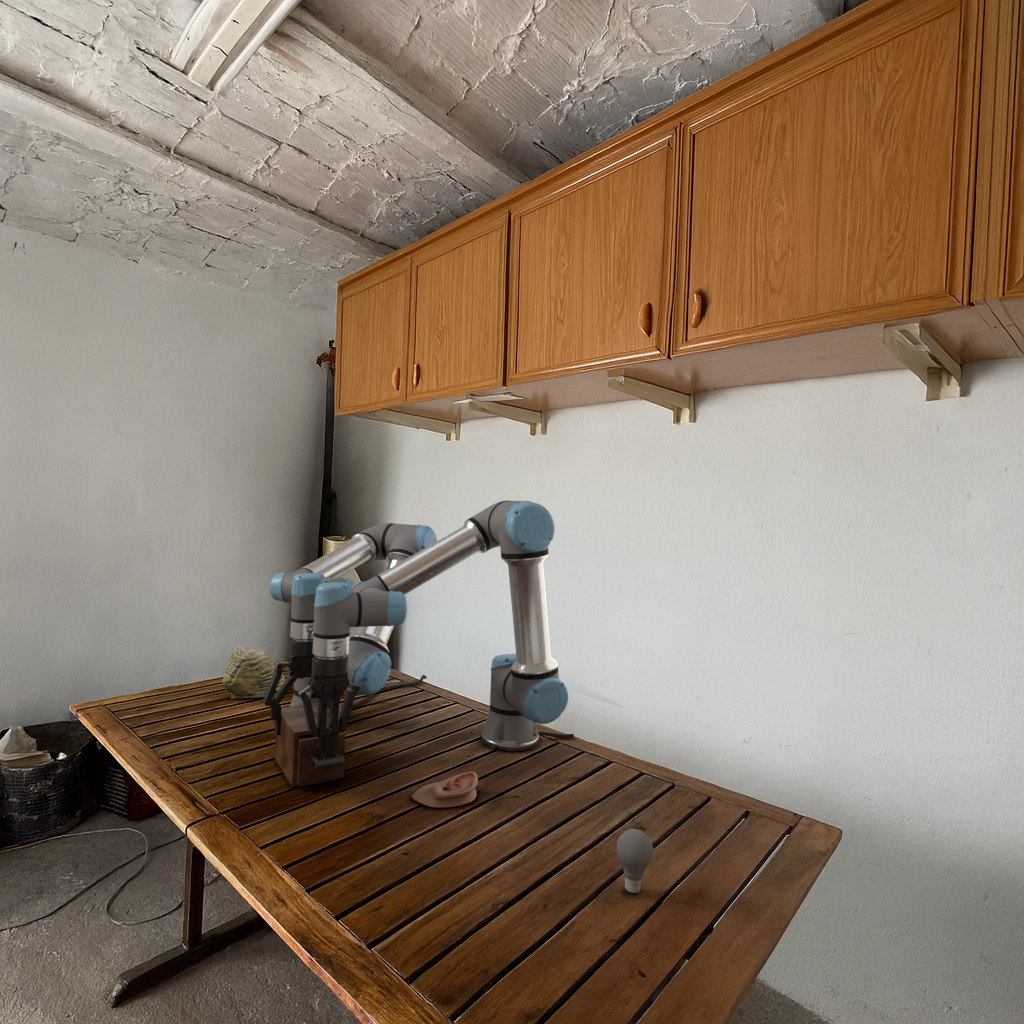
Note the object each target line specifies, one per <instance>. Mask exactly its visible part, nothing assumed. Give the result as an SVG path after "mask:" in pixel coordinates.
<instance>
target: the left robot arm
mask: <svg viewBox="0 0 1024 1024" xmlns="http://www.w3.org/2000/svg"><path fill="white" fill-rule="evenodd" d="M437 541H438V538H437V535H436V532H435V531H434V529H433V528H432V527H430V526H429V525H422V524H420V523H419V524H409V523H408V524H406V523H405V524H404V523H394V522H387V523H386V522H385V523H380V524H377V525H374V526H371V527H369V528H365V529H364V530H362V531H360V532H358V533H356V534H354V535H353V536H351V538H350V540H349V542H346V543H344V544H343V545H341V546H339V547H338V548H336V549H334V550H332V551H330V552H328V553H326V554H325V555H323V556H321V557H319V558H317V559H316V560H314V561H312V562H310V563H308V564H307V565H305V566H303V567H301V568H299V569H297V570H296V571H295V570H294V571H293V572H279V573H276V574H275V575H273V577H272V578H271V580H270V583H269V589H268V590H269V594H270V596H271V598H272V599H274V600H275V601H277V602H283V603H285V604H288V603H289V604H291V610H290V611H291V612H290V613H291V615H290V632H289V637H290V638H291V639H290V640H289V657H288V659H287V661H281V662H280V661H279V660H277V661H275V662H274V663H275V671H274V674H273V676H272V679H271V681H270V684H269V686H268V688H267V691H266V693H265V696H264V697H262V703H263V704H264V705H265V706H266V707H270V719H271V722H272V721H273V722H274V731H273V732H274V733H276V735H280V732H281V708H282V706H281V702H282V701H283V699H284V698H285V697H286V695H287V693H288V692H289V690H290V689H291V687H292V686H293V695H292V696H293V697H292V699H291V702H290V704H289V707H292V706H299V705H303V701H302V699H301V698H300V696H299V695H298V691H299V690H301V689H302V690H303V689H305V688H306V687H307V686H309V681H310V680H311V677H312V658H313V657H314V656H315V655H314V654H313V653H312V652H313V635H314V604H315V596H316V588H317V586H318V585H320V584H322V583H327V582H339V583H340V582H342V583H348V584H350V585H351V586H353V585H354V584H355V581H353V579H352V578H351V577H348V576H345V575H346V574H347V573H349V572H351V571H352V570H354V569H356V568H357V567H359V566H361V565H362V564H364V565H367V564H370V563H372V562H373V561H386V563H387V566H386V569H385V571H386V570H388V569H389V568H391V567H393V566H395V565H396V564H398V563H400V562H402V561H403V560H405V559H407V558H409V557H410V556H412V555H414V554H416V553H417V552H419V551H421V550H423V549H424V548H426V547H428V546H430V545H431V544H433V543H435V542H437ZM407 596H408V593H407V594H405V597H406V598H407ZM394 628H395V625H393V626H389V627H388V626H369V627H359V629H358V632H357V633H356V634H354V635H351V636H350V639H349V653H348V654H347V656H348V657H349V665H348V677H349V679H350V682H352V683H355V684H356V685H358V686H359V687H360V690H359V691H358V693H357V694H356V696H357V695H358V696H361V695H363V696H364V695H365V696H366V697H365V698H362V699H361V700H359V701H355V702H353V706H352V708H355V707H357V706H360V705H362V704H364V703H366V702H367V701H369V700H370V699H371V698H372V697H373V696H374V695H375V694H377V693H379V692H383V691H387V690H391V689H396V688H397V689H398V688H403V687H411V686H417V685H419V684H421V683H422V682H423V681H424V680H427V679H428V678H427V675H425V674H422V675H421V676H420V679H419V680H417V681H414V682H408V683H397V684H393V685H388V686H385V685H386V683H387V682H388V680H389V678H390V675H391V671H392V669H391V667H392V660H391V656H389V653H390V650H389V648H388V642H389V640H390V637H391V635H392V633H393V630H394ZM286 668H288V669H289V670H290V671H289V673H288V674H287V677H286V678H285V681H284V683H283V684H282V686H281V687H280V689H279V690H278V692H277V693H276V694H275V695H274V693H275V691H276V688H277V686H278V683H279V681H280V678H281V676H282V675H283V672H285V671H286ZM346 689H347V688H346ZM346 689H345V691H344V692H343V693H342V695H341V696H340V697H343V696H345V692H346V693H347V690H346ZM309 699H310V701H311V704H314V703H318V697H317V696H316V695H315V693H314V692H313V691H311V697H310V698H309ZM342 706H343V705H341V702H340V703H339V717H340V714H341V710H342ZM327 707H328V708H329V709H330V699H329V700H328V705H327Z"/></svg>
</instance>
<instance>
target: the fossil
mask: <svg viewBox="0 0 1024 1024" xmlns="http://www.w3.org/2000/svg"><path fill="white" fill-rule="evenodd" d="M274 671H275V662H274V660H273V659H272V658H271V657H270V656H269V655H268V654H267V653H266V652H265V650H264V649H263V648H260V647H258V648H251V647H247V646H246V647H245V646H238V647H237V648H236V649H235V650H233V651H232V653H231V656H230V657H229V659H228V660H227V663H226V666H225V668H224V671H223V675H222V676H223V677H222V685H223V687H224V688H225V690H226V691H228V693H229V698H230V699H250V698H264V696H265V693H266V691H267V688H268V686H269V684H270V681H271V679H272V676H273V674H274ZM285 680H286V678H285V676H284V674H282V676H281V678H280V681H279V683H278V686H277V688H276V691H275V693H274V696H275V694H276V693H277V692H278V690H279V689H280V687H281V686H282V684H283V683H284V681H285Z"/></svg>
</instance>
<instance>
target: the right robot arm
mask: <svg viewBox="0 0 1024 1024" xmlns="http://www.w3.org/2000/svg"><path fill="white" fill-rule="evenodd" d="M555 525H556V524H555V521H554V519H553V516H552V514H551V512H550V511H549V509H547V508H546V507H545V506H543V505H542V504H540V503H538V502H534V501H530V500H501V501H498V502H496V503H494V504H492V505H489V506H488V507H486V508H485V509H483V510H481V511H479V512H478V513H476V514H475V515H473V516H471V517H469V518H467V519H465V520H464V522H463V526H461V527H460V528H457V529H456V530H454V531H452V532H451V533H449V534H447V535H446V536H444V537H442V538H440V539H439V540H437V542H435V543H433V544H431V545H430V546H428V547H426V548H424V549H423V550H421V551H419V552H417V553H416V554H414V555H412V556H410V557H409V558H407V559H405V560H403V561H402V562H400V563H398V564H396V565H395V566H393V567H391V568H389V569H388V570H386V569H385V570H384V571H382V572H380V573H379V574H377V575H375V576H373V577H372V578H370V579H368V580H365V581H364V580H363V581H358V582H356V583H355V582H354V583H355V584H354V585H353V586H351V585H350V584H348V583H342V582H340V583H339V582H327V583H322V584H320V585H318V586H317V588H316V596H315V604H314V635H313V652H312V653H313V654H314V655H315V656H314V657H313V658H312V677H311V680H310V681H309V686H307V687H306V688H305V689H303V690H302V689H301V690H299V691H298V695H299V696H300V698H301V699H302V701H303V706H304V710H305V715H306V720H307V724H308V729H309V732H310V733H311V734H312V735H313V736H317V749H318V750H319V752H321V760H323V759H329V758H332V750H334V749H336V747H337V736H338V735H339V732H341V731H344V732H345V731H346V730H347V727H348V724H349V721H350V716H351V713H352V710H353V707H352V706H353V704H354V703H355V698H356V696H357V693H358V691H359V690H360V687H359V686H358V685H356V684H355V683H352V682H350V679H349V677H348V665H349V657H348V656H347V654H348V653H349V639H350V637H351V636H350V635H351V628H360V627H369V626H388V627H389V626H393V625H394V626H400V625H403V624H404V623H405V621H406V618H407V615H408V603H407V596H406V597H405V594H407V595H408V594H409V593H411V592H412V591H414V590H416V589H417V588H419V587H421V586H422V585H424V584H426V583H428V582H430V581H431V580H433V579H435V578H436V577H438V576H440V575H441V574H443V573H445V572H446V571H448V570H450V569H451V568H454V567H455V566H457V565H459V564H460V563H462V562H464V561H465V560H467V559H469V558H470V557H472V556H473V555H475V554H477V553H480V554H485V553H487V552H488V551H490V550H492V549H494V548H498V547H499V548H500V558H501V560H502V561H503V562H504V563H506V564H507V568H508V578H509V579H508V580H509V590H510V602H511V613H512V624H513V634H514V635H513V636H514V646H515V647H514V648H515V653H503V654H498V655H495V656H494V657H493V658H492V660H491V667H490V693H489V712H488V714H487V717H486V720H485V723H484V725H483V728H482V731H481V742H482V743H483V744H484V746H487V747H488V748H491V749H494V750H496V751H497V750H498V751H504V752H522V751H527V750H528V751H529V750H530V749H534V748H535V747H537V745H539V740H540V737H539V736H545V737H553V738H558V739H559V738H560V739H571V738H572V739H573V738H575V734H574V733H556V732H550V731H549V732H548V731H540V730H538V726H537V724H538V725H546V724H550V723H552V722H554V721H556V720H557V719H558V718H560V717H561V715H562V713H563V712H564V711H565V710H566V708H567V705H568V703H569V690H568V687H567V686H566V684H565V683H564V682H563V681H562V680H561V679H560V673H559V663H558V661H557V660H556V659H555V658H553V657H552V653H551V640H550V629H549V617H548V604H547V603H548V602H547V592H546V581H545V569H544V561H545V560H546V559H547V558H548V556H549V555H550V554H549V545H550V544H551V542H552V541H553V539H554V536H555V532H556V530H555V529H556V528H555ZM346 688H347V689H346ZM345 689H346V690H347V692H346V693H345V692H344V691H345ZM311 691H313V692H314V693H315V695H316V696H317V697H318V721H317V727H316V723H315V718H314V713H313V708H312V704H311V701H310V699H309V698H310V697H311ZM343 692H344V693H345V694H344V699H343V703H342V705H341V706H342V710H341V714H340V717H339V703H340V704H341V697H342V696H341V695H342V693H343ZM329 699H330V720H329V731H330V733H329V732H327V733H326V721H327V705H328V700H329ZM338 720H339V721H338ZM330 767H331V766H330ZM325 768H327V767H325Z"/></svg>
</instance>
